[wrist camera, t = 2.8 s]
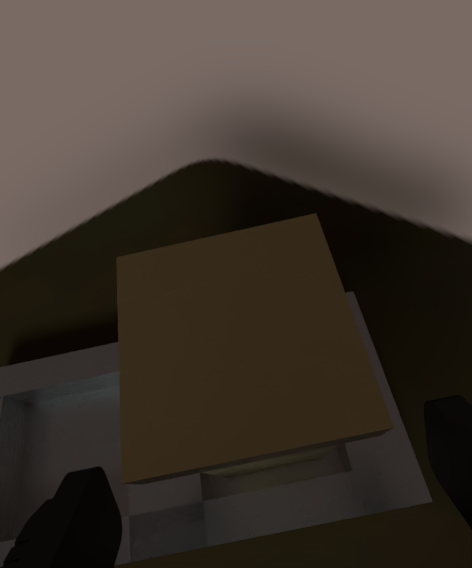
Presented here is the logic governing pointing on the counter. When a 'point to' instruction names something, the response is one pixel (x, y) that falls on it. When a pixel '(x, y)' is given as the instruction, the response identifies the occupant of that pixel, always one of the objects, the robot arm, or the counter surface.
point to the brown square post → (239, 356)
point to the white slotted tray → (188, 489)
